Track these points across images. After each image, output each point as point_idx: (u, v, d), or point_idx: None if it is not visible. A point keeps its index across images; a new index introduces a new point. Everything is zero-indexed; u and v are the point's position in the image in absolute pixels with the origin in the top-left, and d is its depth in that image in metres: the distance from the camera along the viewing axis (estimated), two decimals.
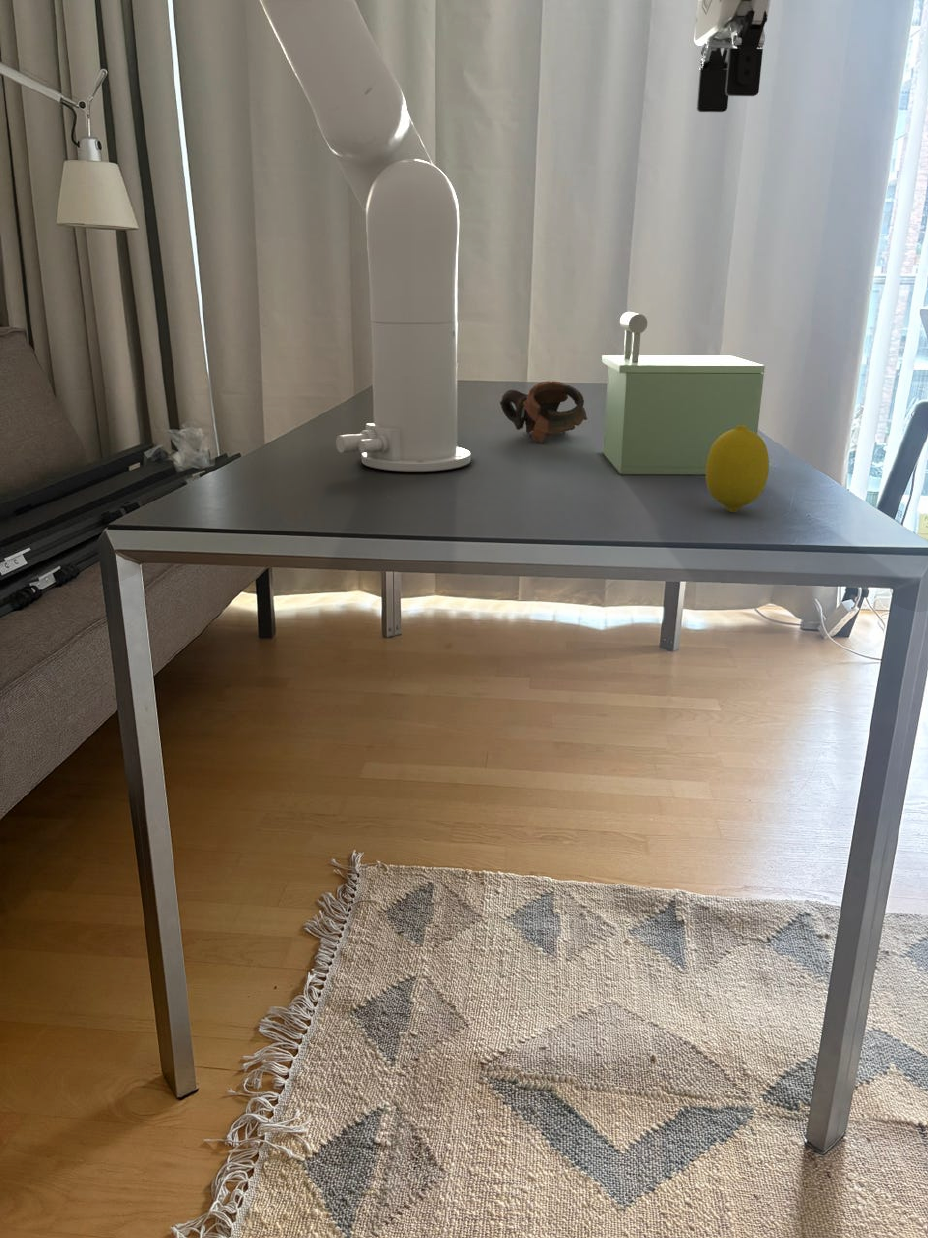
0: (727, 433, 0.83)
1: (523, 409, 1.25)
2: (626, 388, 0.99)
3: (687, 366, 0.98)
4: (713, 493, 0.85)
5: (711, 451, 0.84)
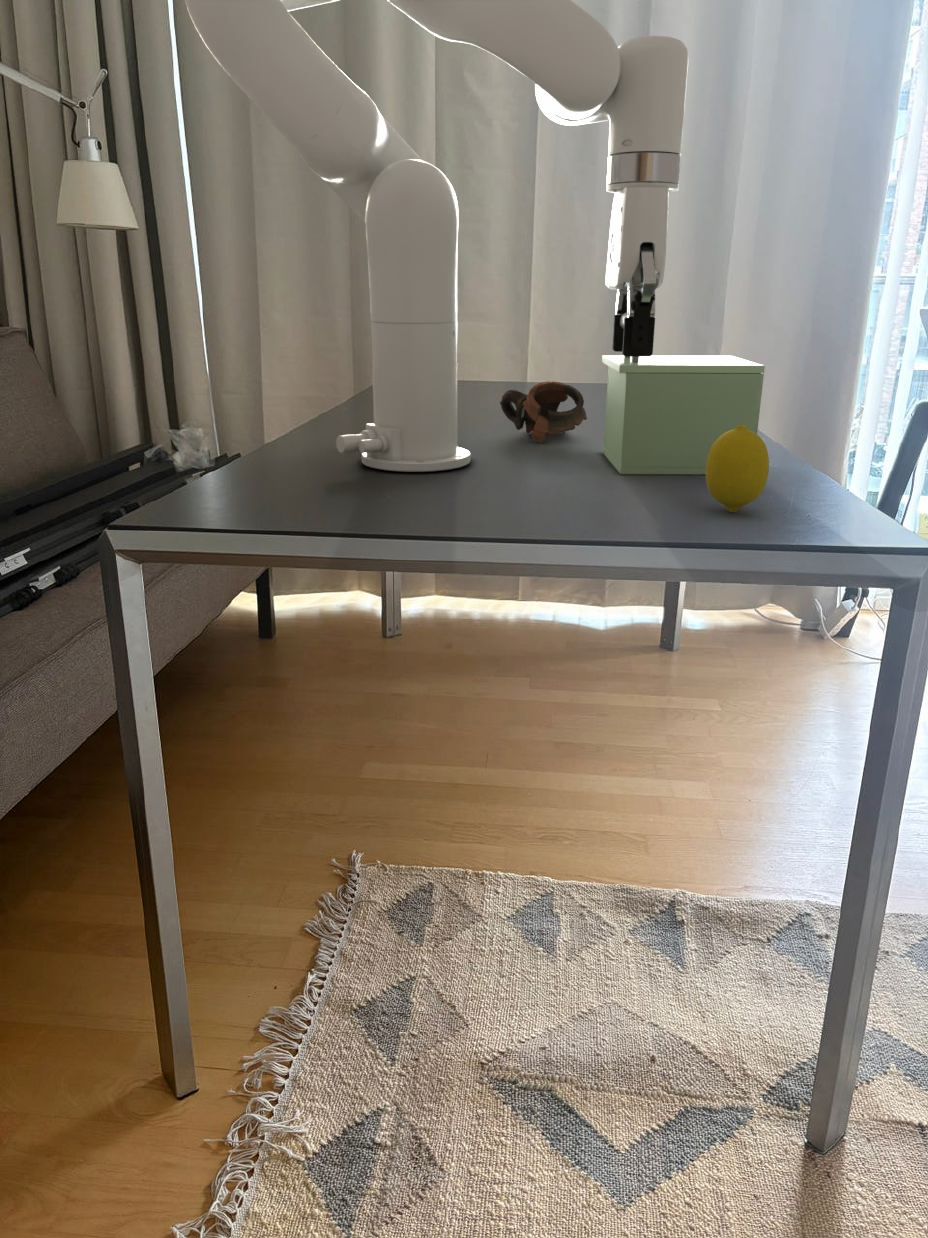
0: (727, 433, 0.83)
1: (523, 409, 1.25)
2: (626, 388, 0.99)
3: (687, 366, 0.98)
4: (713, 493, 0.85)
5: (711, 451, 0.84)
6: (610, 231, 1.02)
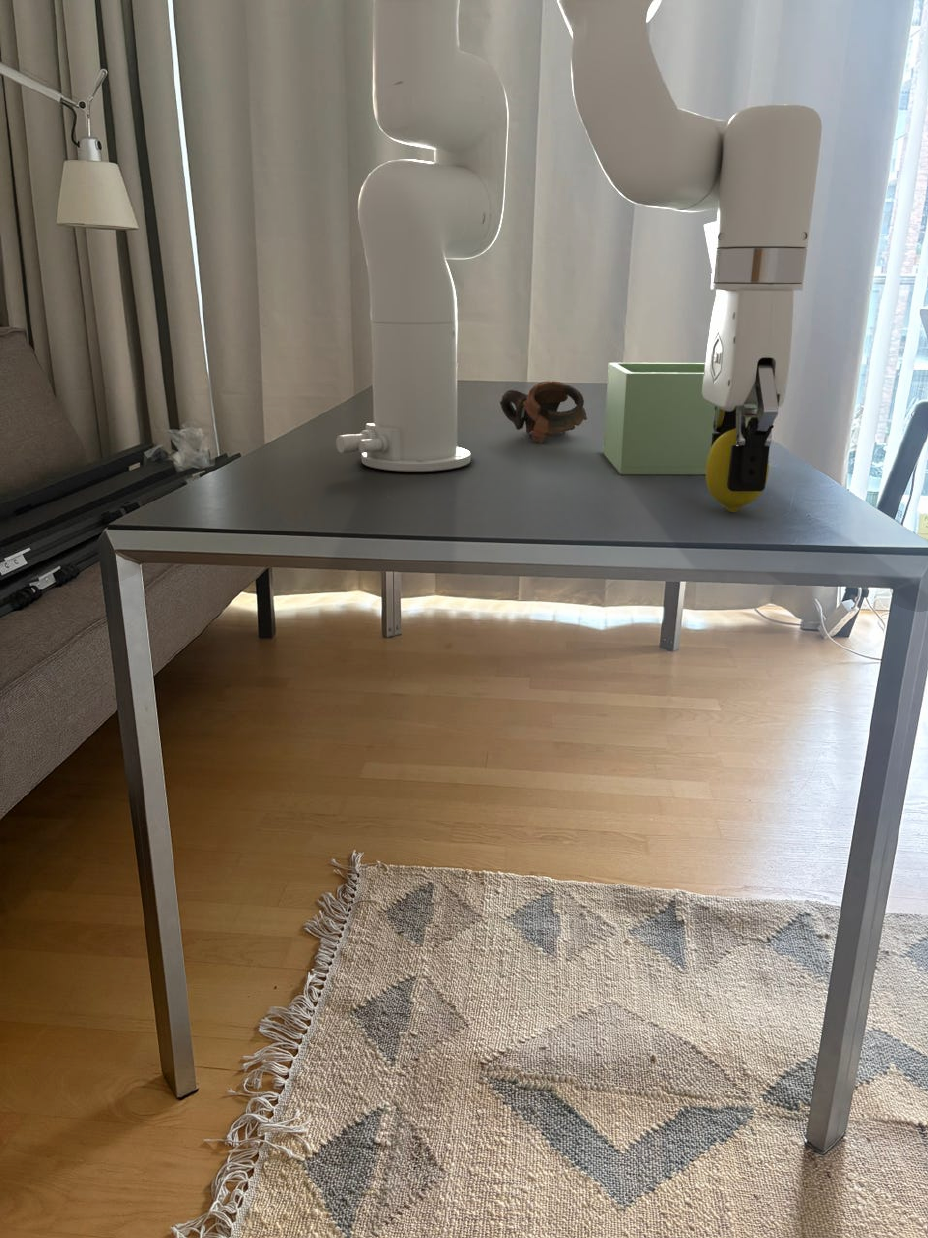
0: (727, 433, 0.83)
1: (523, 409, 1.25)
2: (626, 388, 0.99)
3: None
4: (713, 493, 0.85)
5: (711, 451, 0.84)
6: (712, 335, 0.83)
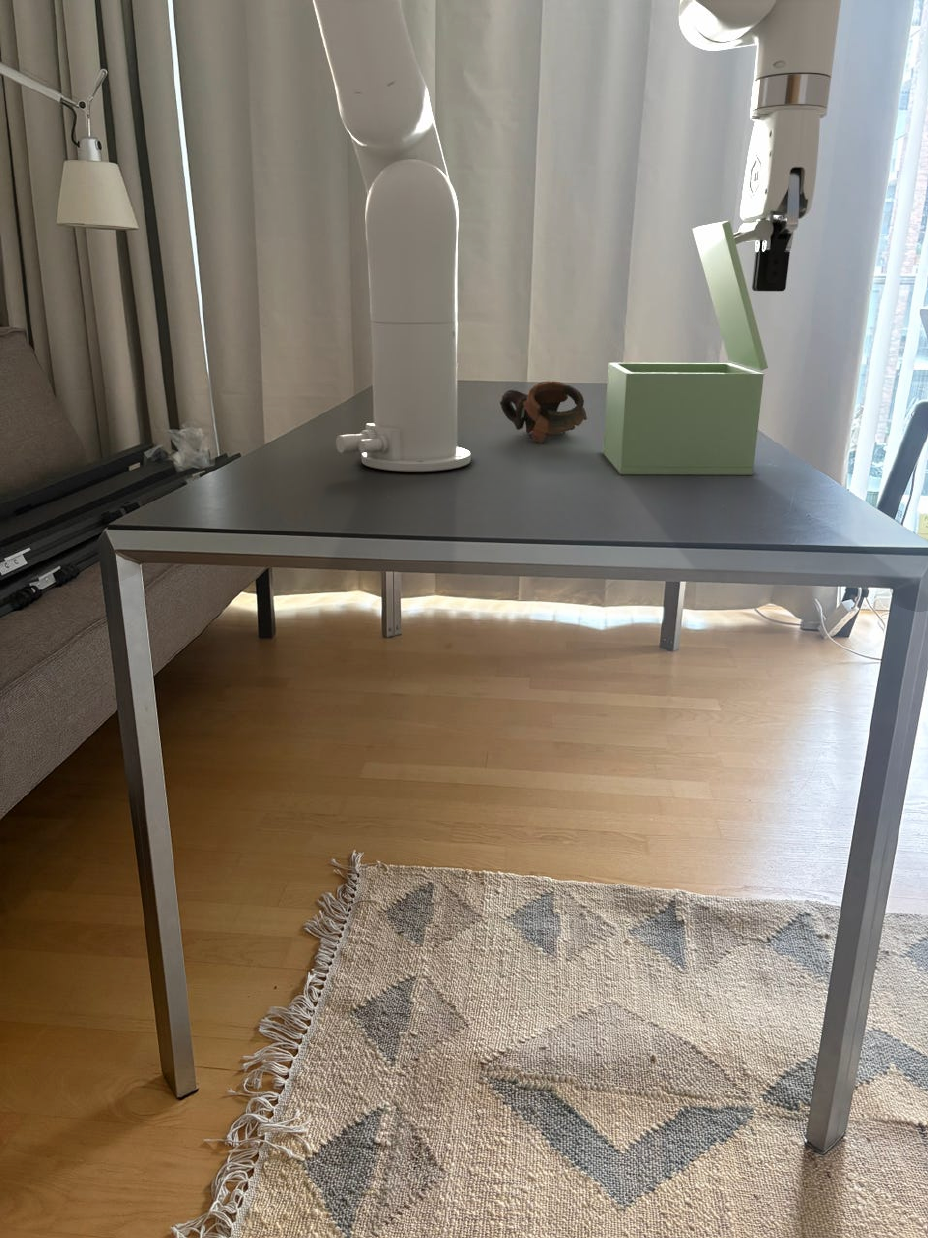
0: None
1: (523, 409, 1.25)
2: (626, 388, 0.99)
3: (746, 291, 0.96)
4: None
5: None
6: (750, 161, 0.99)
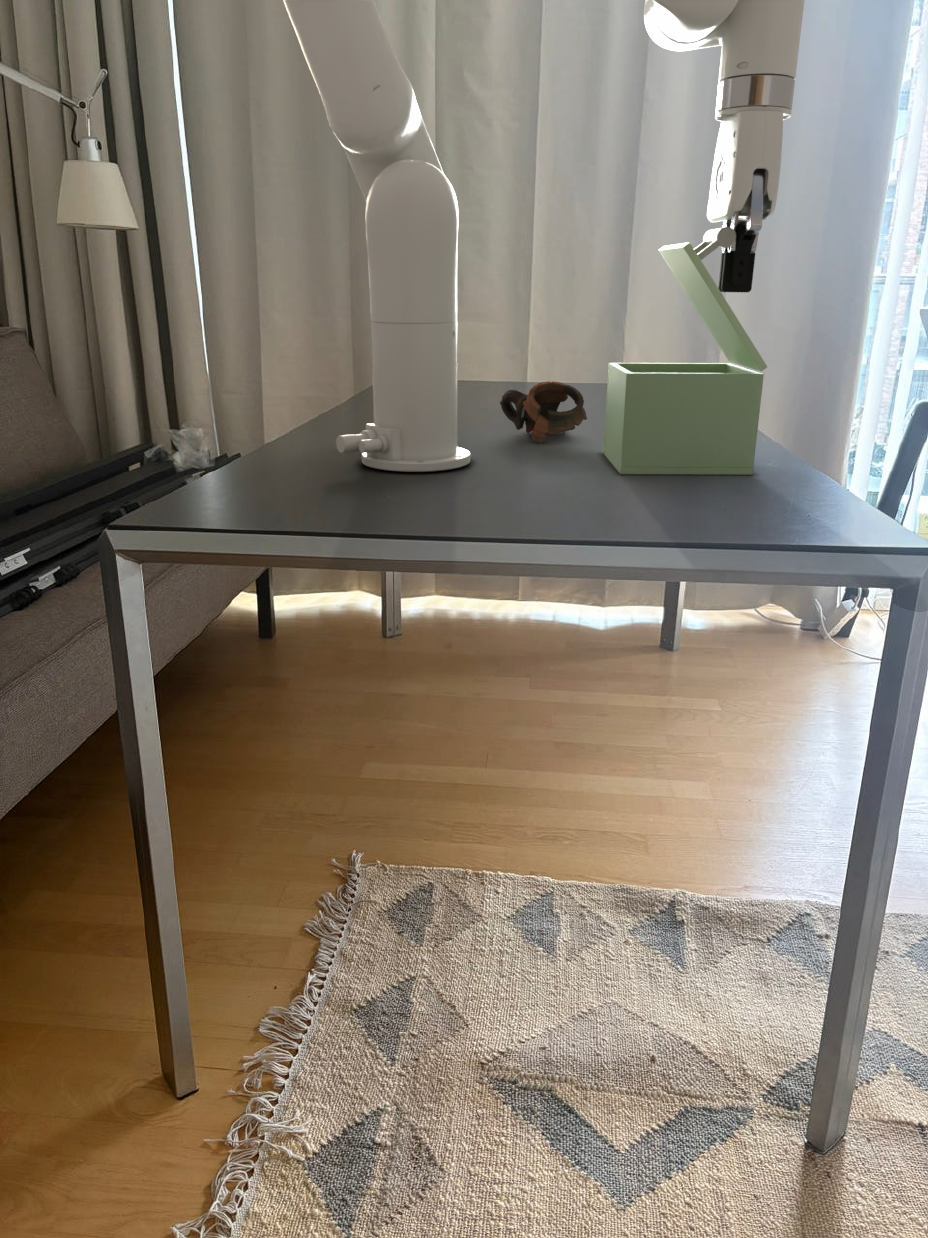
0: None
1: (523, 409, 1.25)
2: (626, 388, 0.99)
3: (725, 302, 0.96)
4: None
5: None
6: (716, 161, 0.99)
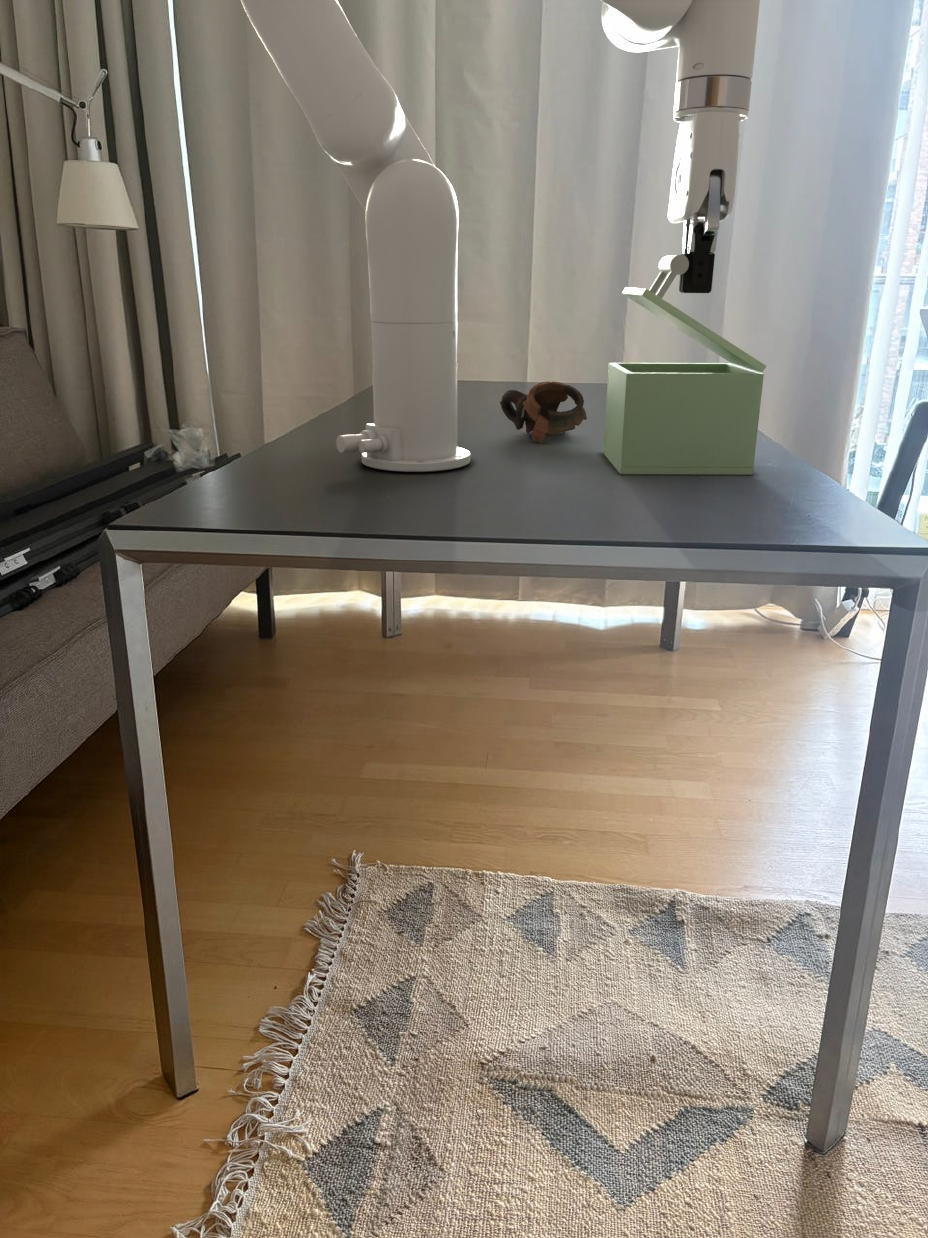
0: None
1: (523, 409, 1.25)
2: (626, 388, 0.99)
3: (702, 326, 0.97)
4: None
5: None
6: (675, 162, 0.99)
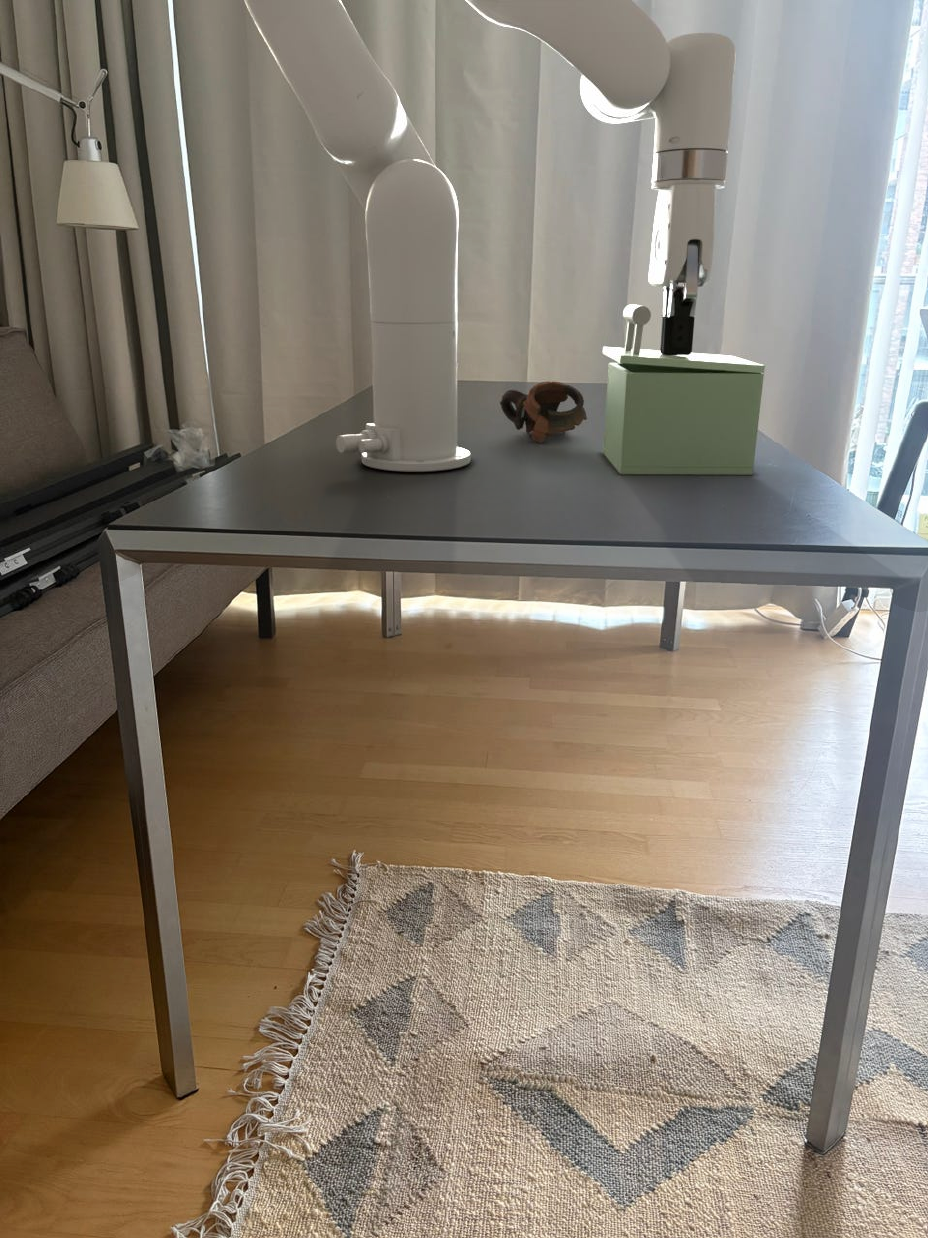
0: None
1: (523, 409, 1.25)
2: (626, 388, 0.99)
3: (688, 361, 0.98)
4: None
5: None
6: (654, 229, 1.02)
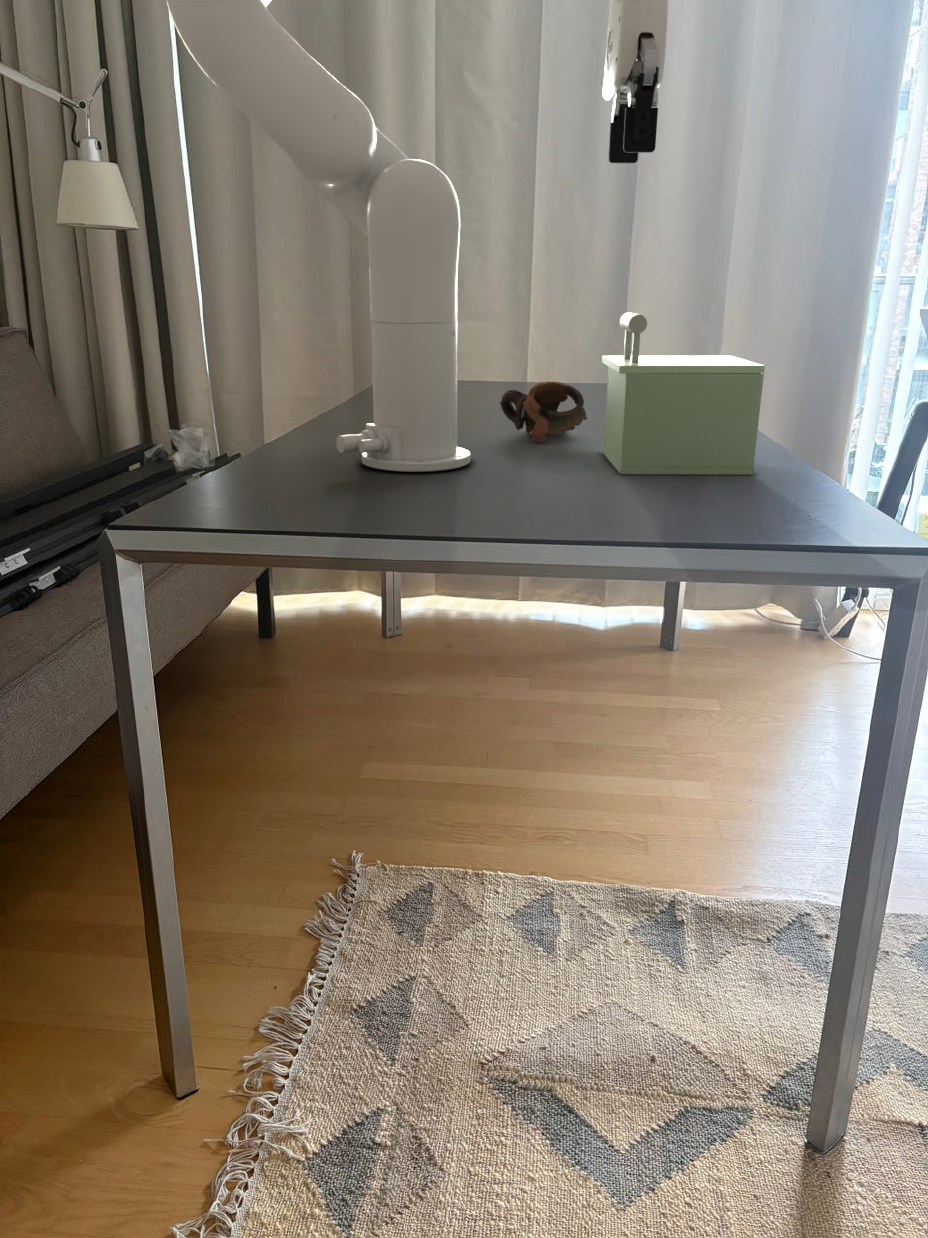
0: None
1: (523, 409, 1.25)
2: (626, 388, 0.99)
3: (687, 366, 0.98)
4: None
5: None
6: (607, 34, 0.97)
